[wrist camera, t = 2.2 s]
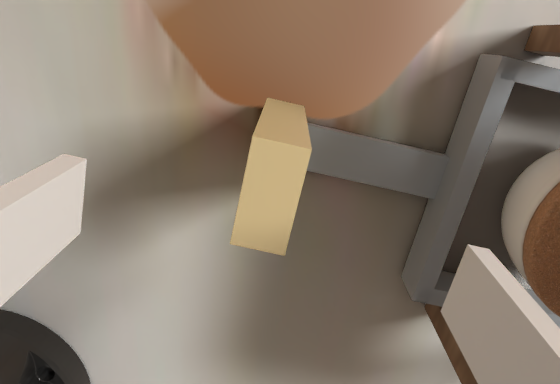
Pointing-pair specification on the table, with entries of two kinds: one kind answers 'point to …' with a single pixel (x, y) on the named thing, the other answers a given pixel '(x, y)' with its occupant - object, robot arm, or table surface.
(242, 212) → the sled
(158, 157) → the table surface
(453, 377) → the table surface
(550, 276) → the lidded jar
